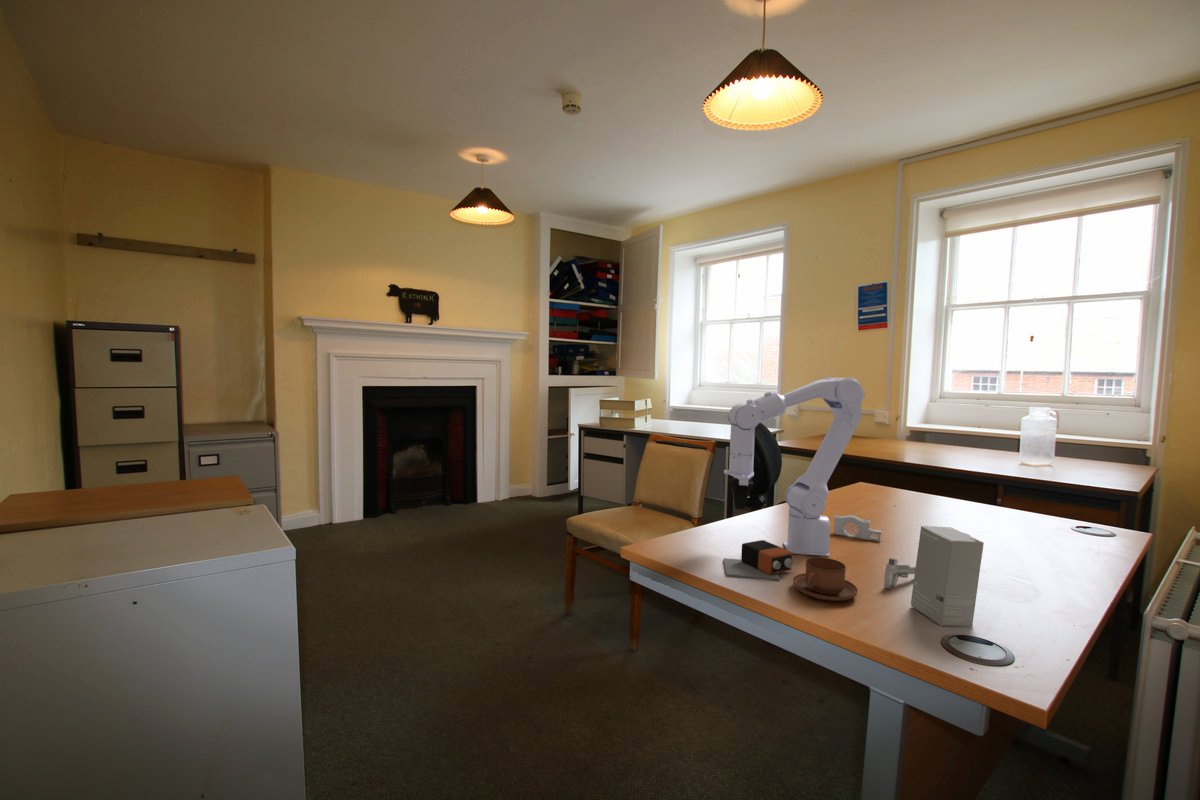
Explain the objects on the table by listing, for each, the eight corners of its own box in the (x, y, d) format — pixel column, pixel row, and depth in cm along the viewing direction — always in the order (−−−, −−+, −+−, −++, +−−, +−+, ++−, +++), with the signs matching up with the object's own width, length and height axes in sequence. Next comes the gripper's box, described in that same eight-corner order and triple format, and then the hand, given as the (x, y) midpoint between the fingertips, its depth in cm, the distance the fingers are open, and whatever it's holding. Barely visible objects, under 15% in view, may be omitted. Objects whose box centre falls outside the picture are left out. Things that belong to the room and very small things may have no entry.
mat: (772, 564, 124) (772, 561, 124) (779, 580, 114) (780, 578, 114) (723, 560, 125) (723, 558, 125) (726, 576, 116) (726, 574, 116)
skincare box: (909, 606, 103) (914, 524, 102) (945, 606, 103) (950, 524, 102) (941, 628, 94) (946, 539, 93) (979, 627, 95) (985, 538, 94)
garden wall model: (881, 541, 143) (883, 519, 143) (881, 542, 142) (882, 520, 141) (833, 532, 150) (834, 511, 149) (832, 534, 148) (833, 513, 148)
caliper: (888, 591, 111) (890, 560, 110) (883, 589, 111) (885, 559, 111) (941, 573, 121) (943, 545, 121) (936, 571, 122) (938, 543, 122)
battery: (762, 557, 126) (795, 572, 118) (740, 561, 123) (772, 577, 114) (763, 539, 126) (796, 552, 117) (740, 542, 123) (773, 557, 114)
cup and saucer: (852, 612, 100) (854, 579, 100) (786, 596, 106) (787, 566, 106) (860, 590, 110) (862, 561, 110) (799, 577, 117) (800, 549, 116)
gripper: (722, 448, 139) (721, 500, 140) (727, 457, 125) (724, 515, 126) (751, 449, 138) (749, 502, 139) (758, 459, 124) (756, 517, 124)
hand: (739, 508), depth 132 cm, fingers closed
